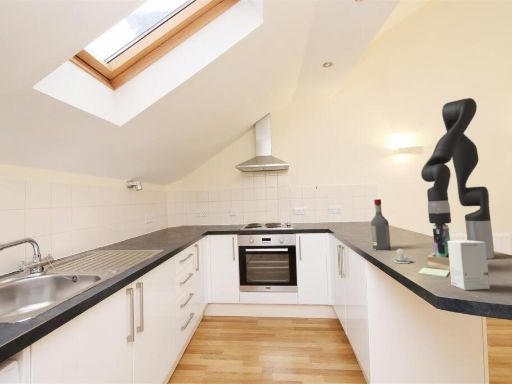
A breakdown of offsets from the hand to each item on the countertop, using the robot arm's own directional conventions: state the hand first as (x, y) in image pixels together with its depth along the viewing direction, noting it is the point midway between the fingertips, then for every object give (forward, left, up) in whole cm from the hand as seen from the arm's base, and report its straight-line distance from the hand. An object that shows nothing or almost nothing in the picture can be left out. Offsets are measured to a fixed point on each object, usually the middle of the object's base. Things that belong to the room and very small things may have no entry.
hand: (443, 252), depth 106 cm
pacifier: (-2, -17, -7) cm, 18 cm away
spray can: (0, 0, -7) cm, 7 cm away
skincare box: (+23, +10, -7) cm, 26 cm away
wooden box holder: (0, 0, -6) cm, 6 cm away
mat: (+10, -2, -6) cm, 12 cm away
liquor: (-31, -35, -7) cm, 47 cm away
